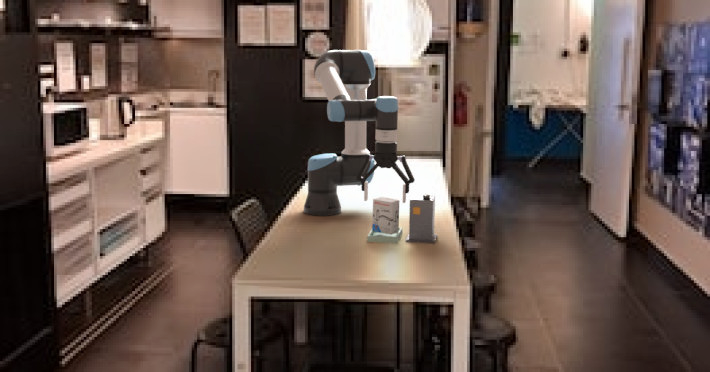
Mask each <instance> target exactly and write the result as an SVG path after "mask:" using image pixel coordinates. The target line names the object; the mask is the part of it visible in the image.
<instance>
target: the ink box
mask: <svg viewBox="0 0 710 372" xmlns="http://www.w3.org/2000/svg"><path fill="white" fill-rule="evenodd" d="M399 222H400V199H396V198H395V199H394V198H389V197H385V196H380V197H377V198H373V199H372V226H371V227H372V229H371V230H372V231H375V232H380V233H385V234H390V235H391V234H394V233H397V232H399V228H400V227H399V226H400V225H399V224H400V223H399Z"/></svg>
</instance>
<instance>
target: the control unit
mask: <svg viewBox="0 0 710 372" xmlns="http://www.w3.org/2000/svg"><path fill="white" fill-rule="evenodd" d="M435 210H436V195H430V194H422V195H421V194H420V195H419V194H417V195H416V194H412V195H411V197H410V199H409V216H408V219H409V222H408V223H409V226H408V235H407V237H406V239H405V243H417V244H418V243H419V244H421V243H422V244H423V243H424V244H425V243H426V244H435V243H436V242H437V241H436V240H437V238H438V234H437V233H435Z"/></svg>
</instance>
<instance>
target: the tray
mask: <svg viewBox="0 0 710 372" xmlns="http://www.w3.org/2000/svg"><path fill="white" fill-rule="evenodd" d="M402 235H403V227H399V232H397V233H394V234H391V235H390V234H385V233H380V232H375V231H372V229H371V230H370V231H369V233H368V234H367V235H366V236H367V237H366V241H367V242H369V243H387V244H388V243H392V244H398V242H399V240H400V238H401V237H402Z"/></svg>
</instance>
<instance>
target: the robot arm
mask: <svg viewBox="0 0 710 372" xmlns="http://www.w3.org/2000/svg"><path fill="white" fill-rule="evenodd" d="M313 73H314V77H315V80H316V81H317V82H318V83H319V84H321V86H322V89H323V92H324V93H325V96H326V98H327V100H328V101H327V104H326V105H327V106H326V114H327V118H328V120H329V121H330V122H338V123H341V122H344V126H345V127H344V149H343V150H342V151H341V155H340V156H338V155H337V154H336V153H322V154H320V153H319V154H317V155H313V156H311V157H310V158H309V159H308V161H307V169H306V170H307V196H306V198H305V202H304V206H303V213H304V214H306V215H309V216H323V217H324V216H334V215H338V214H341V213H342V206H341V202H340V199H339V195H338V193H337V192H338V187H344V186H345V187H346V186H361V191H362V192H364V193H363V194H364V195H363V196H364V197H363V198H364V199H363V200H364V201H365V202H366V201H368V199H369V198H368V197H369V195H368V193H369V184H370V183H371V182H372V181H373V178H374V174H375V171H376V170H377V168H380V169H384V168H386V169H393V171H394V172H395V173H396V174H397V175H398V177H400V179H401V180H402V181H403V182H404V183H403V184H402V203H403V204H405V203H406V202H407V201H406V200H407V199H406V198H407V194H409V193H410V185H411V184H413V183H414V182H415V181H416V180H415V178H414V175H413V173H412V171H411V168H410V166H409V165H408V162H407V157H406V155H400V156H399V155H398V150H397V149H398V143H397V141H398V121H399V120H398V116H399V115H398V114H399V100H398V98H397V97H396V96H391V95H382V96H380V95H379V96H377V97H376V98H371V99H367V93H368V92H367V91H368V88H369V87H370V85H371V81H373V80H375V77H376V64H375V59H374V57H373V54H372V52H370V51H369V50H364V49H363V50H361V49H353V50H352V49H346V50H345V49H342V50H341V49H339V50H338V49H333V50H328V51H325V52H324V53H323V54H321V55H320V56H319V57H318V58H317V60H316V61H315V64H314V67H313ZM374 121H375V137H374V138H375V142H374V143H375V146H374V147H375V150H374V151H375V152H374V155H373V154H371V151H369V150H368V148H367V122H374ZM398 161H399V163H401V164H402V167H403V168H404V170H405V171H404V172H405V173H406V174H404V172H403V171H402V170H401V169H400V167H399V165H398V164H397V162H398ZM406 175H407V176H406Z"/></svg>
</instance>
